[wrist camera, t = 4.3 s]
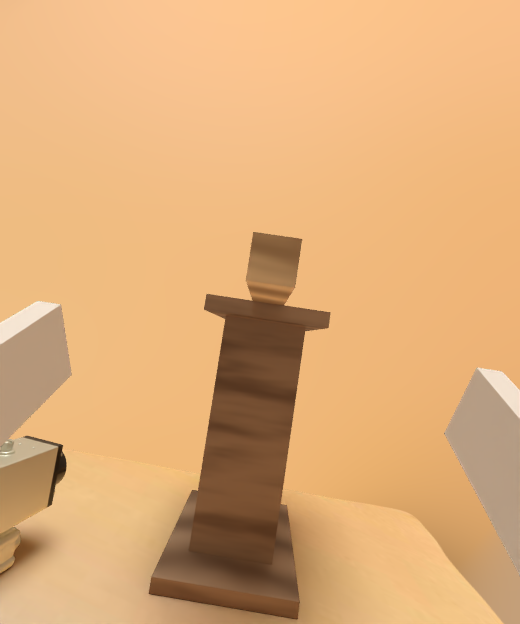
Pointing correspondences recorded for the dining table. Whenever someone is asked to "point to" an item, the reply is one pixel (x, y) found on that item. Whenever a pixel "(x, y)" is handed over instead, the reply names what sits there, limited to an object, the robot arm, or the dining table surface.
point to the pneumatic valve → (25, 486)
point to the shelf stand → (243, 468)
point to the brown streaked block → (272, 267)
